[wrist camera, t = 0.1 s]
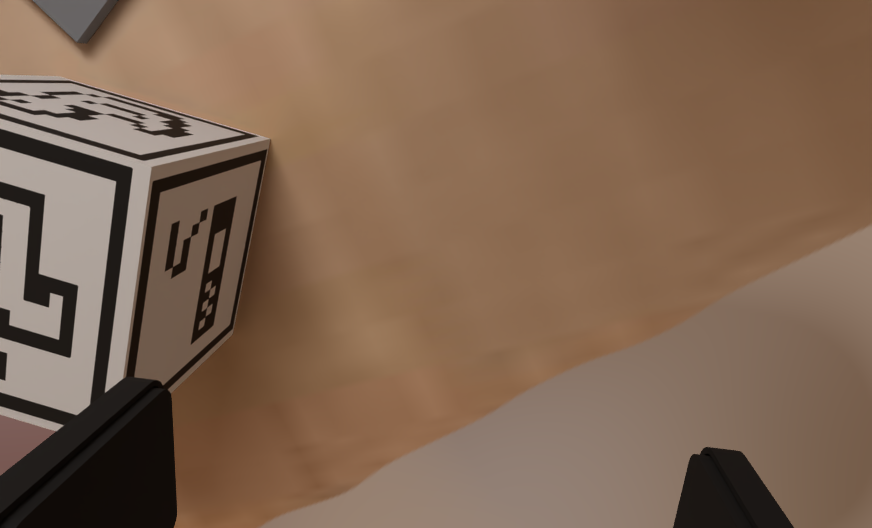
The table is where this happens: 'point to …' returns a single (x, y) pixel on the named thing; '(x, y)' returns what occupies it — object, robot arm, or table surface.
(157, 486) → the robot arm
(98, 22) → the rubber mat
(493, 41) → the table surface
